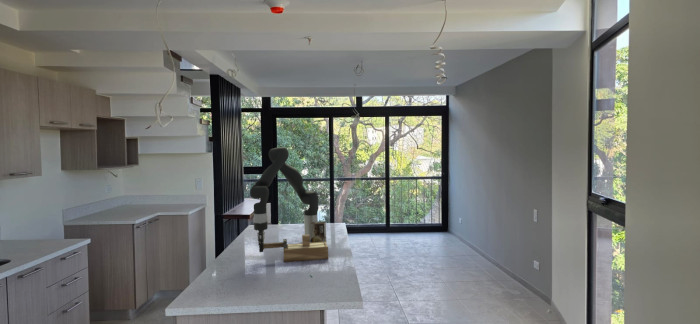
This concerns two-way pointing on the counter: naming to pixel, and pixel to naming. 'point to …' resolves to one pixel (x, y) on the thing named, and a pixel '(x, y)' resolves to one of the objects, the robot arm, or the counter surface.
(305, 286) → the counter surface
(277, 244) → the brown block
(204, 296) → the counter surface
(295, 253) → the wooden box
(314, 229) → the coffee box
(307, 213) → the robot arm
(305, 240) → the lid
